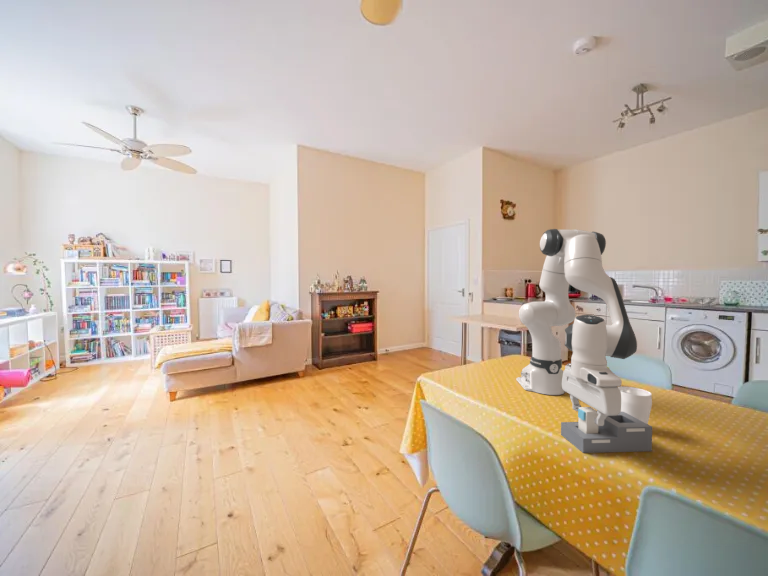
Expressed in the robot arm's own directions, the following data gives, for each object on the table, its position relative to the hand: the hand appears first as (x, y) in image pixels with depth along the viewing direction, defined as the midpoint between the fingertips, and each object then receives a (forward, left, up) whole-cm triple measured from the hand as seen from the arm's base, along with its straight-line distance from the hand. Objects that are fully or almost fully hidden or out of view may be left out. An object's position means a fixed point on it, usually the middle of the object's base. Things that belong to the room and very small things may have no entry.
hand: (587, 417), depth 91 cm
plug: (0, 0, -7) cm, 7 cm away
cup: (-9, +22, -8) cm, 25 cm away
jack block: (0, +5, -8) cm, 9 cm away
